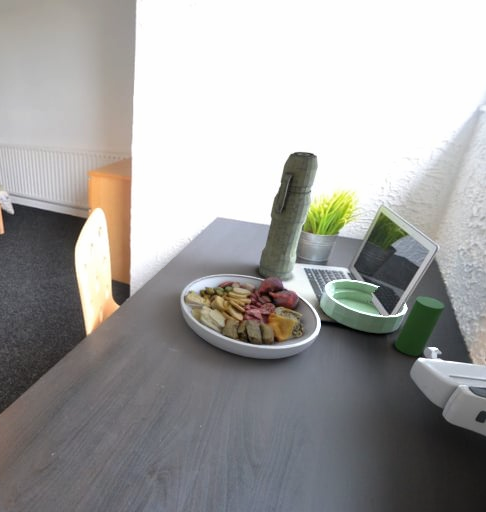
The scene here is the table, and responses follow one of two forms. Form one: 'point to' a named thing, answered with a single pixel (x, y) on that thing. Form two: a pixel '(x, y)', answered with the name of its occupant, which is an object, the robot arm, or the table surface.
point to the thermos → (288, 215)
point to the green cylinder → (419, 325)
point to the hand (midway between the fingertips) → (459, 353)
